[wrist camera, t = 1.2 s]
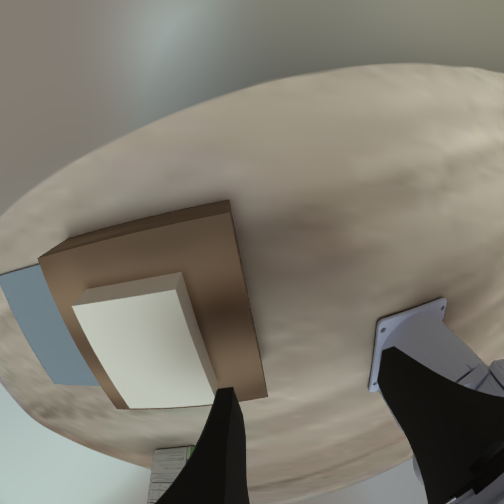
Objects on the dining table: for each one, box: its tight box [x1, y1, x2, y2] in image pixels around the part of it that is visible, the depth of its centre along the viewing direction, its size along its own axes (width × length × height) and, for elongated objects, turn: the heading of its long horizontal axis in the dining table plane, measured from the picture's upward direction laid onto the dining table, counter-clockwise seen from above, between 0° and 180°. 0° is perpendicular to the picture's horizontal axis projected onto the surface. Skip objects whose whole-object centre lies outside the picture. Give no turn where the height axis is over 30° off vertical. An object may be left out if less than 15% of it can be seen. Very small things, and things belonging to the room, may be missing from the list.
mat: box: [0, 264, 100, 386], centre depth 19 cm, size 12×10×1 cm
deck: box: [38, 200, 268, 409], centre depth 17 cm, size 13×12×4 cm
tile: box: [72, 272, 218, 408], centre depth 14 cm, size 8×6×2 cm
